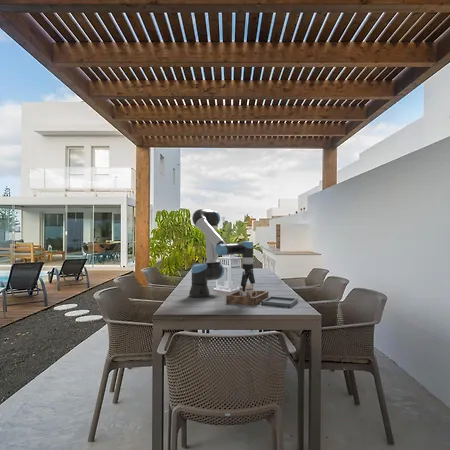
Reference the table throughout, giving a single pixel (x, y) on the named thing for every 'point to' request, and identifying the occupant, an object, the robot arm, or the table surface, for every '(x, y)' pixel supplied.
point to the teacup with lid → (247, 291)
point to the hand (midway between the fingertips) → (248, 294)
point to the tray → (279, 301)
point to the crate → (246, 298)
